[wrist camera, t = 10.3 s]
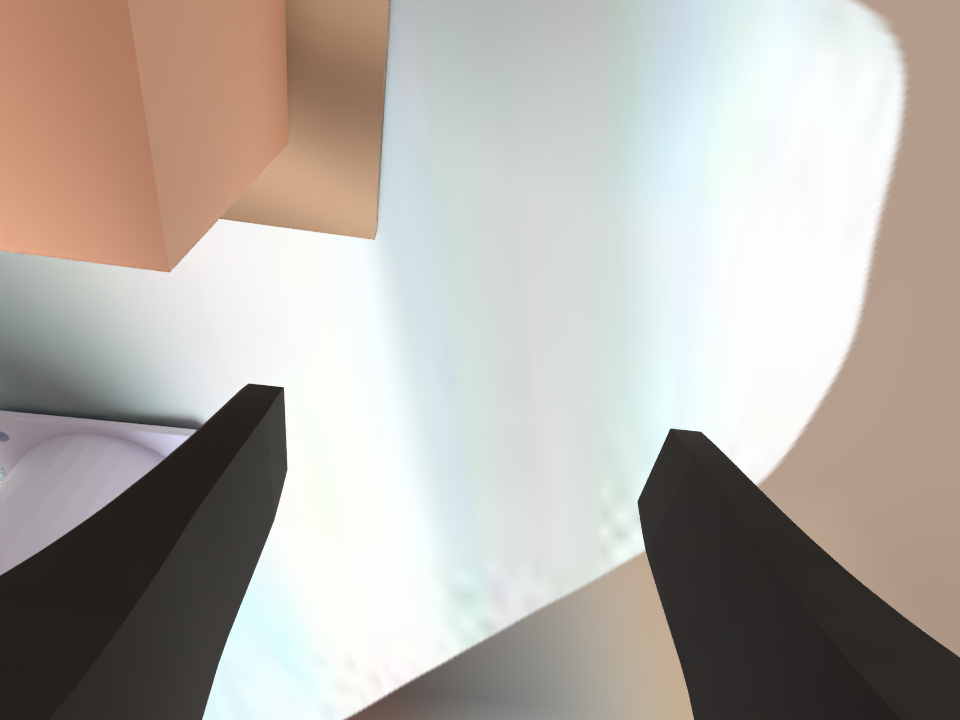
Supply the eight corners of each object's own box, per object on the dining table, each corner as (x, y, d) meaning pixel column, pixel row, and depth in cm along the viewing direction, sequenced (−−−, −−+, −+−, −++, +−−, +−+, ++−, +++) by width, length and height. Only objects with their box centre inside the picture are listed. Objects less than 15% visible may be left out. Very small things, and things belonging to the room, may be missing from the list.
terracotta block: (288, 143, 16) (169, 272, 10) (98, 113, 16) (-164, 229, 9) (283, -79, 13) (110, -109, 7) (51, -124, 13) (-375, -203, 6)
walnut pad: (376, 231, 18) (374, 239, 18) (38, 186, 17) (25, 192, 17) (401, -195, 13) (399, -201, 12) (-97, -302, 12) (-121, -313, 11)
